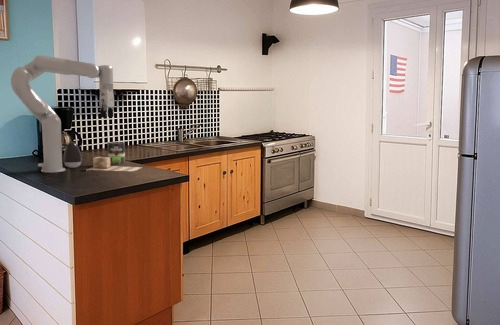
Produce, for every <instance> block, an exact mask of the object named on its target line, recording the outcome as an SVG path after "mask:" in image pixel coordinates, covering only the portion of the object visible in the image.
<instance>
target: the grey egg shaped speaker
mask: <svg viewBox="0 0 500 325" xmlns="http://www.w3.org/2000/svg"><path fill="white" fill-rule="evenodd" d="M62 146H64V147H65V149H64V153H63V157H62V163H64V166H65V167H67V168H70V169H71V168H72V169H73V168H78V167H80V166H81V164H82V161H83V159H82V154H81V151H80V147H79V145H78V144H77V143H76V142H75V141H69V142H68V143H67V144H66V143H64V142H62Z"/></svg>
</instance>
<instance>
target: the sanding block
mask: <svg viewBox="0 0 500 325" xmlns="http://www.w3.org/2000/svg"><path fill="white" fill-rule="evenodd" d="M92 159H93V160H92V161H93V162H92V163H93V168H98V169H108V168H110V166H111V164H110V157H108V156H96V157H93V158H92Z"/></svg>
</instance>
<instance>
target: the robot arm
mask: <svg viewBox="0 0 500 325" xmlns="http://www.w3.org/2000/svg"><path fill="white" fill-rule="evenodd" d="M113 69H114V68H113V66H112V65H105V64H104V65H103V64H102V65H97V64H95V63H90V62H83V61H78V60H71V59H68V58H67V59H66V58H60V57H55V56H50V55H49V56H48V55H43V54H39V55H36V56H35V57H34V58H33V60H31V61H29V63H27V64H26V65H24V66H17V68H14V70H13V71H12V74H11V76H10V86H11V88H12V91H13V93H14V94H15V95H16V96H17V98H18V99H19V100H20V101H21V103H22V104H23V105H24V106H25V107H26V109H27V110H28V111H29V113H31V114H32V115H33V116H34V117H35V118H36V119H37V120H38V121H39V123H41V131H42V132H41V133H42V147H43V148H42V150H43V151H42V153H43V162H41V163H38V164H37V167H38V168H41V170H40V171H41V172H42V173H52V174H53V173H61V172H62V173H63V172H65V171H66V168H65V167H63V148H62V147H63V145H62V144H63V142H62V121H61V118H60V117H59V115H58V114H57V113H56V112H55V111H54V110H53V108H51V106H50V105H49V104H48V103H47V102H46V101H45V100H44V99H42V98H41V97H40V96H39V95H38V94H37V92H36V91H35V90H34V89H33V88H32V87H31V85H30V82H31V81H34V80H35V79H37V78H38V77H40V76H41V75H43V74H44V73H51V74H59V75H64V76H71V75H72V76H73V75H74V76H80V77H87V78H89V79H97V78H98V79H99V80H98V82H99V84H98V85H99V86H98V87H99V88H98V89H99V103H98V104H99V111H100V112H99V114H100V115H99V116H100V118H102V119H106V118H107V117H108V118H113V117H114V107H115V96H114V95H115V94H114V72H113Z"/></svg>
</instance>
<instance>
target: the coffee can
mask: <svg viewBox="0 0 500 325" xmlns="http://www.w3.org/2000/svg"><path fill="white" fill-rule="evenodd" d="M107 157H110V166H116V165H117V166H119V165H120V166H121V165H125V164H126V143H125V142H121V141H112V142H107Z"/></svg>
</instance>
